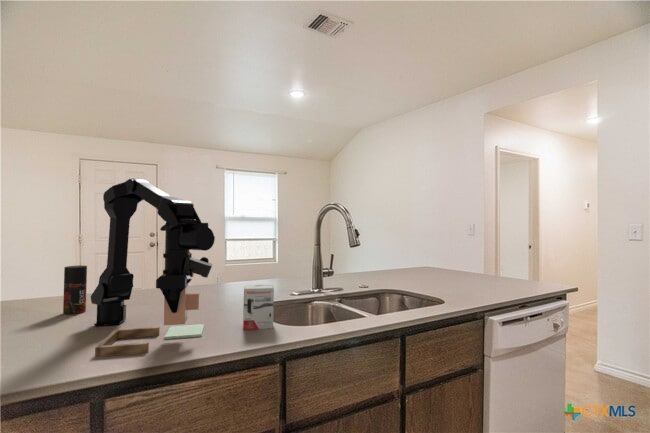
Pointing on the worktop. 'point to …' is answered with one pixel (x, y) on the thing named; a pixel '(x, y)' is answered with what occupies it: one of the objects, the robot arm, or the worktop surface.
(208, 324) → the worktop surface
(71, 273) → the deodorant
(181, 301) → the block with side knob
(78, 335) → the worktop surface
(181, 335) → the green mat
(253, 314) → the ink box
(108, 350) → the walnut cradle
